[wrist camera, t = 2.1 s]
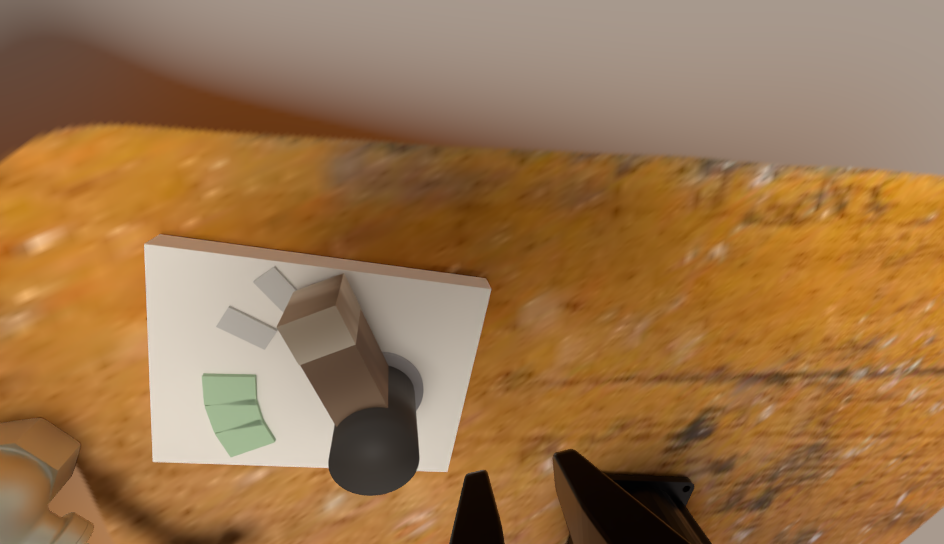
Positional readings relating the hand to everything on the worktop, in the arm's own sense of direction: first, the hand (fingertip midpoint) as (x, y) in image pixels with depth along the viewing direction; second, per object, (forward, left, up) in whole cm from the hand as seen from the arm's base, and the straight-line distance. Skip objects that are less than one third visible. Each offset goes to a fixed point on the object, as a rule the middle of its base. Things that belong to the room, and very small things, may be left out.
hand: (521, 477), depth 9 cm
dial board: (+5, +6, -12) cm, 14 cm away
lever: (+3, +4, -10) cm, 12 cm away
